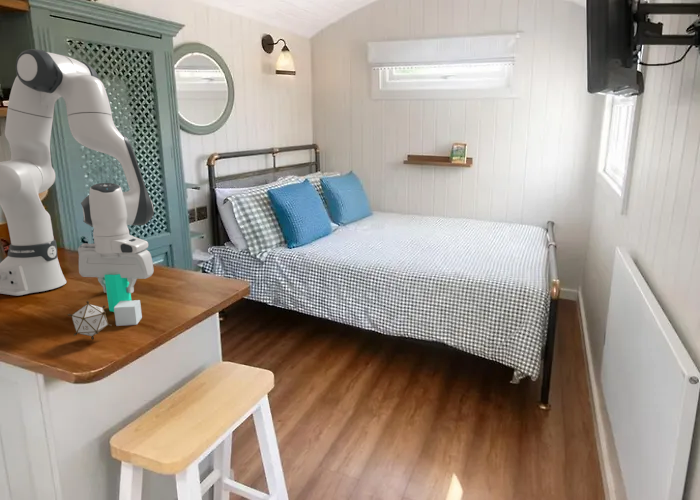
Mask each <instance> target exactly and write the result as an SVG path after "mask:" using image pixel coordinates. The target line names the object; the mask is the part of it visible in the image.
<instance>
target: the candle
mask: <svg viewBox="0 0 700 500" xmlns="http://www.w3.org/2000/svg"><path fill="white" fill-rule="evenodd" d="M105 284H106V291H107V292H106V297H107V303H108V304H107V305H108V310H109V312H111V313H112V312H113V313H115V312H114V307H115V306H116V305H117V304H118V303H119V302H120V301H131V300H132V293H126V287H128V285H129V282H128V279H127V278H121V276H120V274H117V275H110V274H109V275H105Z"/></svg>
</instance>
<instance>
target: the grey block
mask: <svg viewBox="0 0 700 500" xmlns="http://www.w3.org/2000/svg"><path fill="white" fill-rule="evenodd" d="M113 313H114V319H115V325H116V327H119V326H135V325H136V326H138V324H139V322H140V321H141V320H142V318H143V313H142V305H141V300H140V299H135V300H133V299H131V301H120V302H119V303H118V304H117V305H116V306H115V307H114V312H113Z"/></svg>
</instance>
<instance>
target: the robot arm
mask: <svg viewBox="0 0 700 500" xmlns="http://www.w3.org/2000/svg"><path fill="white" fill-rule="evenodd" d="M15 61H16V62H15V71H16V72H15V73H16V77H15V79H14V81H13V84H12V87H11V90H10V94H9V99H8V104H7V111H6V117H5V118H6V120H5V129H4V136H5V138H6V140H7V142H8V144H9V148H10V149H9V150H10V155H11V157H10V159H9V160H3V161H0V207H1V209H2V211H3V214H4V217H5V220H6V223H7V228H8V233H9V238H10V244H9V245H6V246H4V247H3V248H4V250H3V251H4V252H5V251H8V252H7V256H6V257H5V258H4V259H3V260H2V261H0V294H3V295H8V296H9V295H10V296H15V297H16V296H18V297H19V296H23V295H28V294H33V293H39V292H45V291H46V292H47V291H49V290H54V289H57V288H60V287H62V286H64V285H65V284H67V282H68V281H67V280H66V277H65V275H64V274H63V271H62V268H61V266H60V262H59V259H58V258H59V257H58V246H57V241H56V239H55V238H54V230H53V224H52V220H51V219H52V218H51V215H50V213H49V212H48V211H47V210H46V209H45V207H44V205H43V203H42V201H41V199H40V195H39V194H42V193H44V192H46V191H48V189H50V188H51V187H52V185H54V184H55V181H56V171H55V168H53V166H52V165H53V164H52V155H51V137H52V128H53V120H54V111H55V105H56V102H57V101H58V100H59V99H60V98H63V100H64V102H65V106H66V107H65V108H66V116H67V121H68V126H69V129H70V133H71V136H72V137H73V139H74V140H75V141H76V142H77V143H79V144H80V145H81V146H83V147H85V148H87V149H89V150H93V151H95V152H99V153H101V154H102V153H103V154H104V155H108V156H110V157H113V158H114V159H116V160H117V161H118V162H119V163H120V165H121V167H122V170H123V173H124V176H125V180H126V182H127V184H128V187H129V190H127V191H123V190H122V187H121V186H120V184H117V183H113V182H101V183H96V184H93V185H91V186H90V187H89V194H88V195H87V196H86V197H84V199H83V200H82V201H81V202H80V204H81V207H82V213H83V219H82V221H83V222H84V224H86V225H88V226H89V227H91V228H93V232H92V235H93V236H92V237H93V242H94V243H82V244H81V245H79V246H78V247H77V252H78V254H77V255H78V273H79V275H80V276H81V277H82V278H97V281H98V283H99V284H100V285H101V287H102V289H103V293H107V291H106V284H105V275H109V274H110V275H117V274H120V276H121V278H127V279H128V282H130V283H129V285H128V287H126V293H131V294H132V293H134V292H135V284H136V282H137V280H139V279H140V280H141V279H143V280H144V279H146V280H147V279H148V278H150V277H152V275H153V274H154V272H155V271H154V262H153V258H152V254H151V252H150V251H149V250H147V249H148V248H149V242H148V241H147V240H145V239H143V238H142V239H141V238H139V237H136V236H133V235H131V234H130V230H129V227H128V226H145V225H146V224H147V223H149V221H150V220H152V218H153V217H154V212H155V210H154V205H153V201H152V199H151V197H150V194H149V192H148V190H147V188H146V184H145V181H144V178H143V175H142V173H141V169H140V166H139V164H138V160H137V157H136V155H135V152H134V149H133V146H132V144H131V142H130V140H129V138H128V137H127V136H126V135H125V134H122V133H121V132H120V131H119V130H118V128H117V127H116V125H115V122H114V119H113V115H112V114H113V113H112V108H111V104H110V99H109V97H108V94H107V91H106V88H105V84H104V82H102V80H100V78H99V75H98V73H97V71H96V70H95V69H94V68H93V67H92V66H91V65H89V64H87V63H86V62H84V61H81V60H77V59H75V58H72V57H70V56H67V55H64V54H58V53H54V52H49V51H45V50H43V49H36V48H35V49H34V48H30V49H28V48H27V49H25V50H23V51H21V52H20V53H19V55H18V56H17V58H16V60H15Z"/></svg>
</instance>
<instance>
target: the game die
mask: <svg viewBox="0 0 700 500" xmlns="http://www.w3.org/2000/svg"><path fill="white" fill-rule="evenodd" d="M105 308H106V305H102V306H99V305H94V304H91V303H90V301H89V300H86V304H85V305H83V306H82V307H81V308H80V309H78V310H76V311H75V312H73V313H72V314H71V313H68V314H67V316H68V317H71V320H72V324H73V326H74V330H75V333H74V334H73V337H75V336H77V335H84V336H88V337H91V339H92V340H94V339H95V337H94V336H95V335H99V333H100V331H102V330H104V329H105V328H106V327H108V326H109V327H112V325H113V324H111V323H109V322H108V318H107V315H106V314H107V312H106V311H105Z"/></svg>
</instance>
